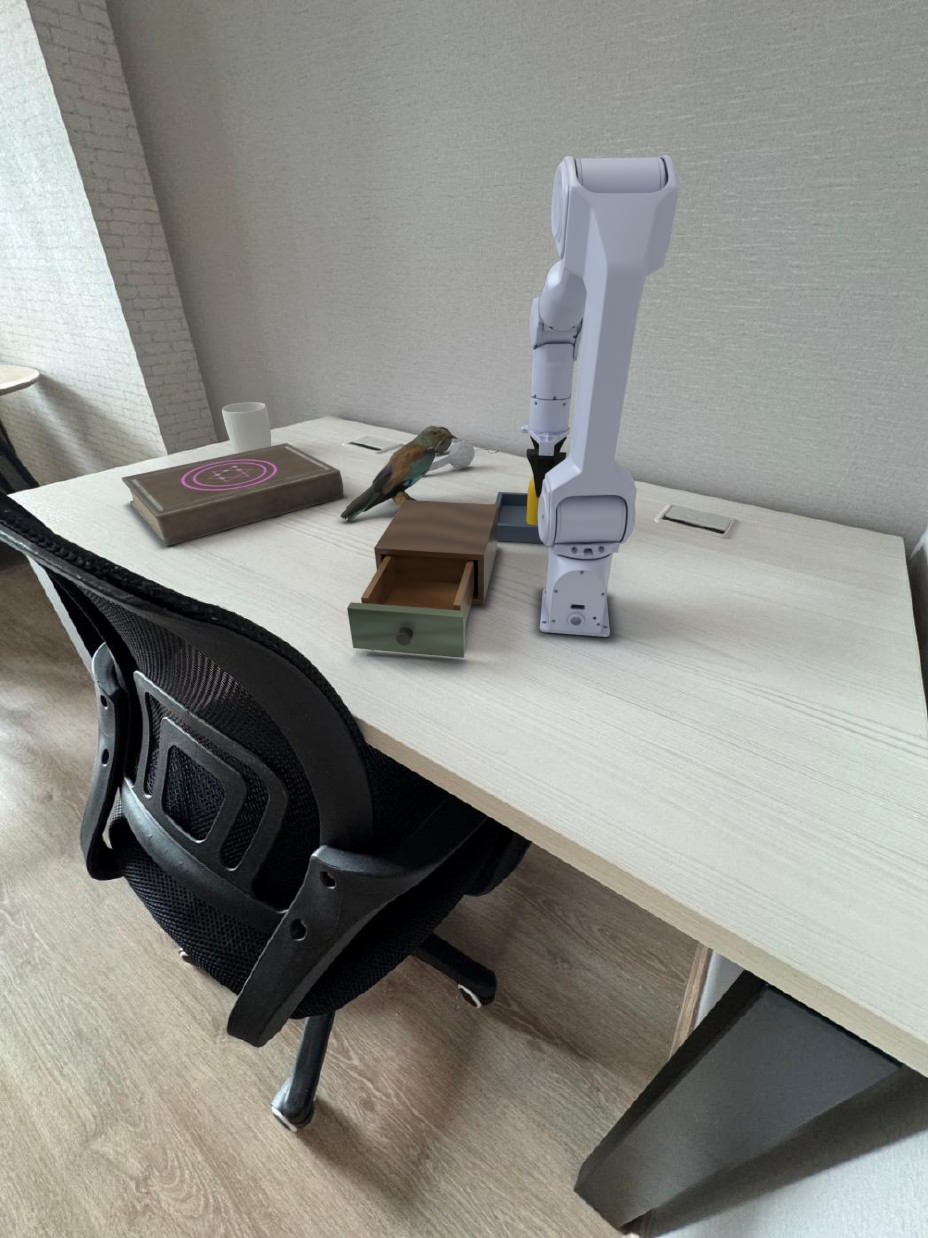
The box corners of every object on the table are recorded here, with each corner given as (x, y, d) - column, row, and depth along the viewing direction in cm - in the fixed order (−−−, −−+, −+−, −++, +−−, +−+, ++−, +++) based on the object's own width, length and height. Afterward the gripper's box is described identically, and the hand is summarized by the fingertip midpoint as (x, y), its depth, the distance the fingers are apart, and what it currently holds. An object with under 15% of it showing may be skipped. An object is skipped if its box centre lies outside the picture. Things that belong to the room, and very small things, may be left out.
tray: (592, 546, 84) (594, 530, 83) (488, 540, 86) (488, 524, 85) (589, 510, 95) (591, 495, 94) (498, 506, 97) (498, 491, 96)
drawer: (462, 665, 59) (461, 623, 56) (349, 654, 61) (343, 614, 58) (481, 589, 72) (481, 552, 69) (388, 582, 74) (384, 546, 71)
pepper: (556, 528, 88) (560, 472, 83) (525, 526, 89) (528, 470, 84) (556, 516, 92) (561, 461, 87) (527, 514, 93) (530, 460, 88)
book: (291, 467, 116) (286, 442, 113) (345, 497, 101) (341, 470, 98) (131, 504, 100) (121, 477, 97) (167, 547, 85) (156, 516, 82)
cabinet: (483, 605, 71) (484, 554, 67) (379, 597, 73) (373, 547, 69) (497, 549, 83) (498, 504, 80) (408, 544, 85) (404, 499, 81)
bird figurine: (352, 530, 88) (403, 407, 83) (330, 510, 95) (375, 396, 90) (420, 552, 96) (469, 441, 92) (395, 533, 103) (439, 429, 99)
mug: (281, 455, 122) (272, 407, 116) (240, 464, 118) (228, 414, 112) (261, 442, 130) (251, 396, 125) (222, 449, 126) (210, 403, 121)
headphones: (467, 441, 125) (384, 468, 120) (463, 415, 122) (377, 442, 117) (504, 463, 112) (412, 496, 107) (501, 435, 109) (406, 467, 104)
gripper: (525, 384, 86) (521, 471, 94) (518, 407, 74) (514, 504, 82) (572, 385, 85) (564, 473, 93) (572, 408, 73) (563, 506, 81)
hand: (544, 488), depth 87 cm, fingers open, 7 cm apart
